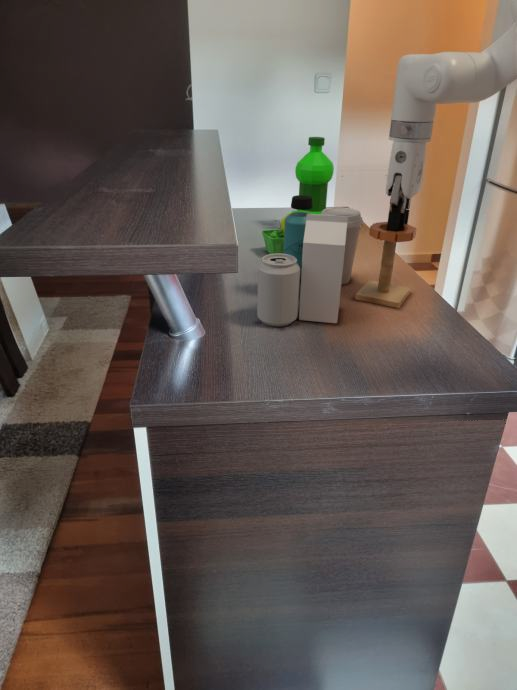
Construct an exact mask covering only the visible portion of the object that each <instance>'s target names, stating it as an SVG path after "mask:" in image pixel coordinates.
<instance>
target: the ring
mask: <svg viewBox="0 0 517 690" xmlns="http://www.w3.org/2000/svg"><path fill="white" fill-rule="evenodd" d="M387 223H388V221H379V222H374V223H373V224H371V225H370V226H369V231H368V232H369V233H368V235H369V236H370V237H372V238H374V239H375V240H379V241H382V242H384V241H389V242H395V241H396V242H397V243H406V242H411V241H413V240H414V239H415V238H416V235H417V231H418V230H417V227H415V226H413V225H410V224H408V223H407V224H404V230H403V231H399V232H393V231H387Z"/></svg>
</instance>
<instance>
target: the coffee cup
mask: <svg viewBox="0 0 517 690" xmlns="http://www.w3.org/2000/svg"><path fill="white" fill-rule="evenodd" d="M321 215H334V216H348V220H347V231H346V242H345V252H344V262H343V272H342V282H341V285H345V284H346V285H347V284H348V283H349V282H350V280H351V276H352V272H353V266H354V262H355V261H354V260H355V256H356V251H357V246H358V241H359V235H360V230H361V227H362V226H363V225H364V219H363V217H362V215H361V212H360V211H359V210H358V209H354V208H351V207H350V208H349V207H341V206H337V207H326V209H324V210H323V211H322V213H321Z"/></svg>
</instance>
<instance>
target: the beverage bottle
mask: <svg viewBox="0 0 517 690" xmlns="http://www.w3.org/2000/svg"><path fill="white" fill-rule="evenodd" d="M312 207H313V205H312V197H310V196H306V195H299V194H297V195H293V196H292V197H291V202H290V208H291V209H293V210H296V211H297V210H309V209H312ZM290 213H291V212H290ZM288 214H289V213H288ZM288 214H287V215H288ZM307 214H310V213H306V212H293V213H291V214H289V215H288V216H287V217H286V218H285V230H284V249H283V251H282V252H283V253H282V254H288V255H292V256H294V257H295V258H296V259H297V262H296V263H297V264H298V265H299V266H300V280H299V294H300V290H301V273H302V256H303V241H304V233H305V226H306V217H307Z"/></svg>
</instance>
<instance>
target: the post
mask: <svg viewBox="0 0 517 690" xmlns="http://www.w3.org/2000/svg"><path fill="white" fill-rule="evenodd" d="M397 244H398V242H396V241H395V242H389V241H383V246H382V247H383V248H382V254H381V261H380V262H381V263H380V268H379V276H378V281H376V280H371V279H369V280H367V281H366V283H365V284H364V285H363V286H362V287H361V288H360V289H359V290H358V291H357V292H356V293H355V294H354V300H357V301H362V302H366V303H371V304H375V305H380V306H384V307H385V306H386V307H389V308H395V309H400V307H401V306H402V304H404V301H405V300H406V299H407V297H408V296H409V294H410V293H411V287H407V286H402V285H398V284H391V283H392V277H393V269H394V263H395V256H396V250H397Z"/></svg>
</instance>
